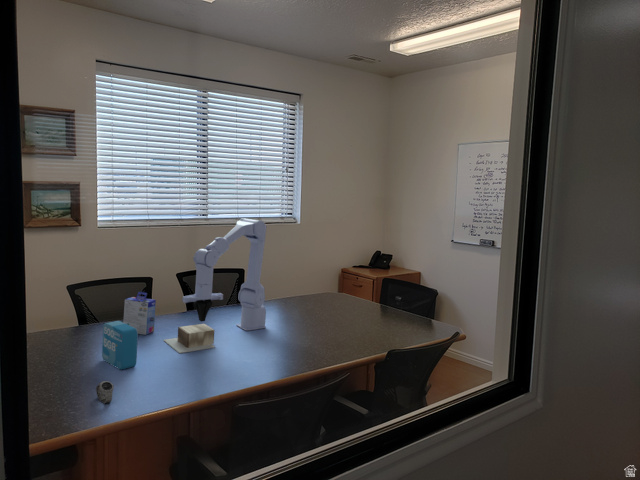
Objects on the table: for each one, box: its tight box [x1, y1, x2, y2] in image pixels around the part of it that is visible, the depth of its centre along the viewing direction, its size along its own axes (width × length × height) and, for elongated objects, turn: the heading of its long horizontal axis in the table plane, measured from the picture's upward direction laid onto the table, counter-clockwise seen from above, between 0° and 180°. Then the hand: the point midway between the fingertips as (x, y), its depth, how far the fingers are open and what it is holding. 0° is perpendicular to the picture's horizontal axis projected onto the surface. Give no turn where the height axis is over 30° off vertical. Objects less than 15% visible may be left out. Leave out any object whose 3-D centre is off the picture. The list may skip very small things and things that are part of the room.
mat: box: [163, 337, 216, 354], centre depth 164 cm, size 13×14×1 cm
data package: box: [101, 320, 139, 371], centre depth 142 cm, size 12×4×12 cm, turn 53°
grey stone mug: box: [95, 380, 115, 404], centre depth 119 cm, size 4×6×5 cm, turn 48°
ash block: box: [177, 323, 216, 348], centre depth 166 cm, size 5×8×10 cm
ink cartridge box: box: [123, 291, 157, 336], centre depth 172 cm, size 10×6×14 cm, turn 78°
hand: (201, 320), depth 166 cm, fingers closed
